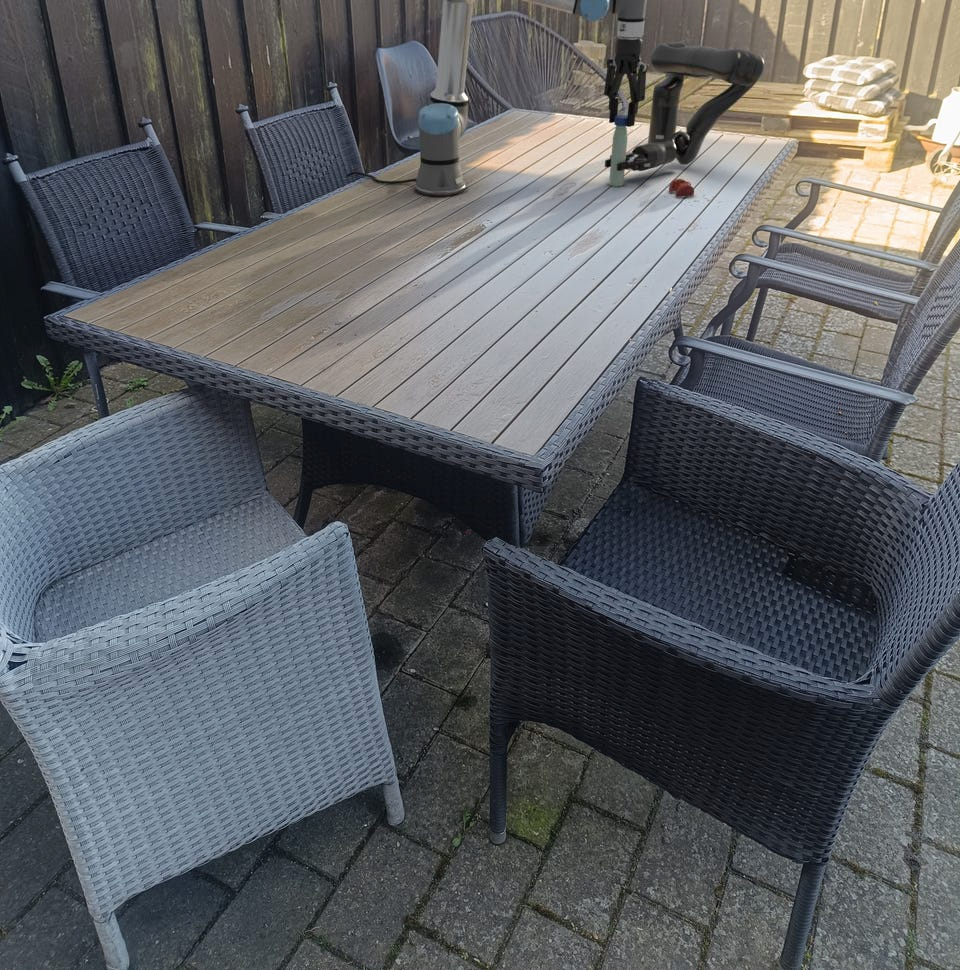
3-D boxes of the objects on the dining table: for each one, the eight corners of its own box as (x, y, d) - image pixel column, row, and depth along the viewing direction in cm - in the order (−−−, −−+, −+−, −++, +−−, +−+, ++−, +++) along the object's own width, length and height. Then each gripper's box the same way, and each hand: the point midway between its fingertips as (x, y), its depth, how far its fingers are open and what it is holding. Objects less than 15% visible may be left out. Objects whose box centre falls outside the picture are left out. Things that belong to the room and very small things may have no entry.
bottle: (607, 185, 262) (613, 119, 251) (610, 181, 265) (616, 116, 254) (621, 186, 261) (627, 120, 250) (624, 183, 264) (630, 117, 253)
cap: (628, 126, 251) (628, 118, 250) (613, 125, 252) (614, 117, 250) (629, 123, 254) (630, 115, 253) (615, 122, 255) (615, 114, 254)
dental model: (685, 174, 256) (697, 182, 250) (683, 188, 258) (695, 196, 252) (668, 176, 255) (679, 184, 249) (666, 190, 257) (678, 199, 251)
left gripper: (595, 35, 243) (589, 120, 256) (648, 42, 232) (638, 131, 245) (612, 32, 247) (605, 116, 261) (664, 40, 236) (654, 127, 249)
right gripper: (633, 139, 269) (595, 148, 260) (667, 148, 260) (630, 157, 251) (630, 163, 274) (594, 173, 265) (664, 173, 265) (627, 183, 256)
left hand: (621, 123), depth 253 cm, fingers open, 6 cm apart
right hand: (611, 165), depth 258 cm, fingers closed on bottle, 4 cm apart
